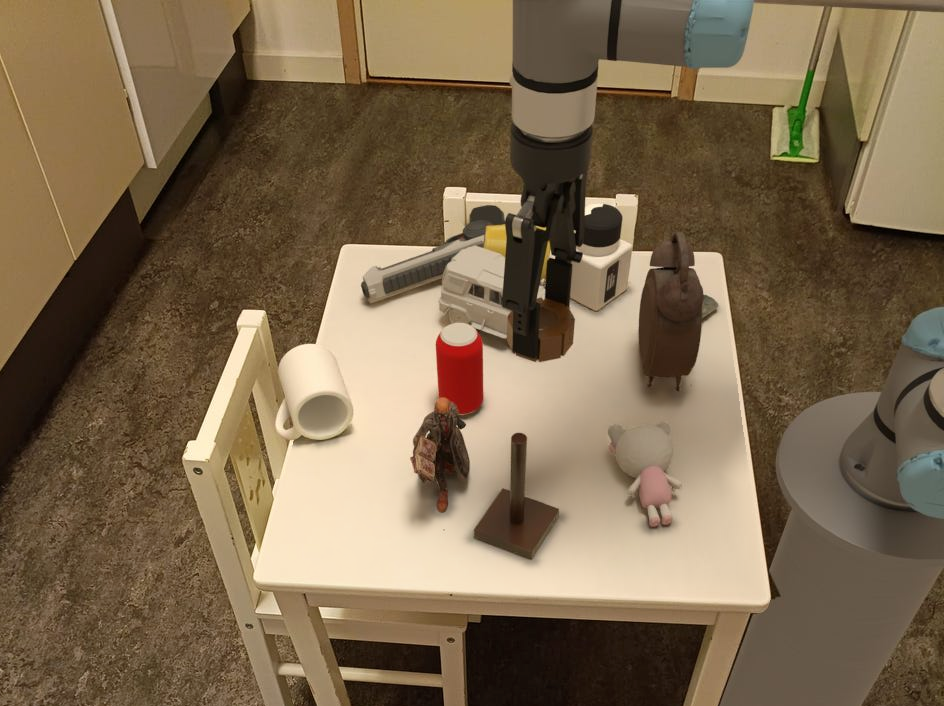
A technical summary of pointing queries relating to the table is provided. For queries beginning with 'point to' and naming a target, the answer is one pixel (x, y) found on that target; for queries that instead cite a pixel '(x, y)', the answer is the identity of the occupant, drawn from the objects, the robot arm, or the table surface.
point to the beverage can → (460, 366)
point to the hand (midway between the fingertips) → (540, 333)
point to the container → (601, 258)
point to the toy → (647, 465)
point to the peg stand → (517, 511)
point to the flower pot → (497, 243)
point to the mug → (312, 394)
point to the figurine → (441, 448)
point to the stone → (708, 305)
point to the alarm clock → (670, 312)
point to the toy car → (477, 290)
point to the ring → (549, 330)
